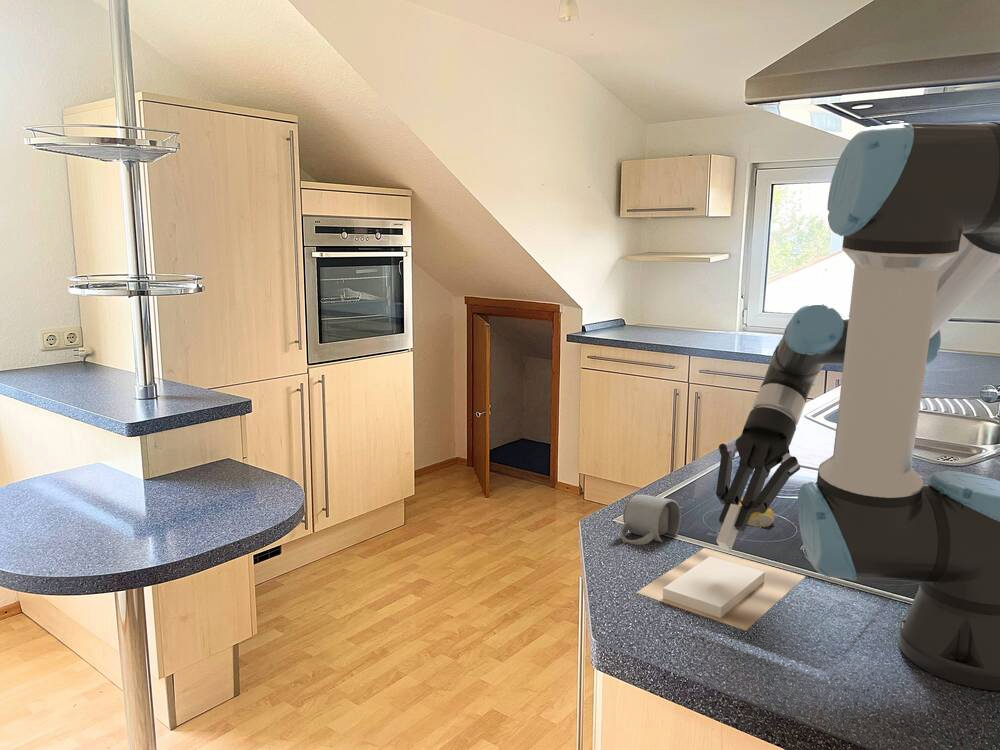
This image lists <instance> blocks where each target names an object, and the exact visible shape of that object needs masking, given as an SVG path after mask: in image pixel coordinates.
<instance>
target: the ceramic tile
mask: <svg viewBox="0 0 1000 750" xmlns="http://www.w3.org/2000/svg"><path fill="white" fill-rule="evenodd" d="M764 579H765V572H764V571H760V570H757V569H753V568H750V567H746V566H743V565H739V564H736V563H732V562H729V561H725V560H722V559H718V558H715V557H711V556H709V557H708V558H707V559H705V560H704V561H702V562H701V563H699V564H698V565H696V566H695V567H693V568H692V569H690V570H689V571H687V572H686V573H684V574H683V575H682V576H680V577H679V578H677V579H676V580H674V581H673V582H671V583H670V584H668V585H667V586H665V587H664V588H663V599H666V600H669V601H672V602H675V603H678V604H681V605H684V606H687V607H690V608H692V609H695V610H698V611H701V612H704V613H707V614H710V615H713V616H716V617H719V618H721V617H722V616H724V615H725V614H726V613H727V612H728V611H730V610H731V609H732V608H733V607H734V606H736V605H737V604H738V603H739V602H740V601H742V600H743V599H744V598H745V597H747V596H748V595H749V594H750V593H751V592H753V591H754V590H755V589H756V588H757V587H759V586H760V585H761V584H762V583H763V582H764Z"/></svg>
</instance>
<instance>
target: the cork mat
mask: <svg viewBox="0 0 1000 750" xmlns="http://www.w3.org/2000/svg"><path fill="white" fill-rule="evenodd" d="M709 556H711V557H715V558H718V559H722V560H725V561H729V562H732V563H736V564H739V565H743V566H746V567H750V568H753V569H757V570H760V571H764V572H765V579H764V582H763V583H762V584H761V585H760V586H759V587H757V588H756V589H755V590H754V591H753V592H751V593H750V594H749V595H748V596H747V597H745V598H744V599H743V600H742V601H740V602H739V603H738V604H737V605H736V606H734V607H733V608H732V609H731V610H730V611H728V612H727V613H726V614H725V615H724V616H722V617H721V618H719V617H716V616H713V615H710V614H707V613H704V612H701V611H698V610H695V609H692V608H690V607H687V606H684V605H681V604H678V603H675V602H672V601H669V600H666V599H663V588H664V587H665V586H667V585H668V584H670V583H671V582H673V581H674V580H676V579H677V578H679V577H680V576H682V575H683V574H684V573H686V572H687V571H689V570H690V569H692V568H693V567H695V566H696V565H698V564H699V563H701V562H702V561H704V560H705V559H707V558H708V557H709ZM804 578H806V575H804V574H803V575H802V574H799V573H796V572H792V571H788V570H785V569H781V568H777V567H776V566H775V567H773V566H770V565H768V564H763V563H759V562H758V561H757V562H756V561H753V560H749V559H745V558H742V557H739V556H735V555H731V554H728V553H725V552H721V551H718V550H712V549H710V548H706V547H703V548H702V549H701V550H699V551H697V552H696V553H694V554H693V555H691V556H690V557H688V558H686V559H685V560H684V561H682V562H680V563H679V564H677V565H676V566H673V568H672V569H670V570H668V571H667V572H665V573H663V574H662V575H661V576H659V577H658V578H656V579H654V580H653V581H651V582H650V583H649V584H646V586H643V587H642V588H641V589H639V590H638V591H636V594H638V595H640V596H644V597H647V598H649V599H652V600H655V601H659V602H661V603H665V604H667V605H670V606H673V607H676V608H680V609H681V610H684V611H687V612H691V613H693V614H697V615H699V616H702V617H705V618H708V619H710V620H714V621H716V622H719V623H723V624H725V625H729V626H732V627H734V628H737V629H740V630H744V631H747V630H749V629H750V628H751V627H752V626H753V625H754V624H755V623H756V622H758V621H759V620H760V619H761V618H762V617H763V616H764V615H765V614H766V613H767V612H769V611H770V609H772V608H773V607H774V606H775V605H776V604H777V603H778V602H779V601H781V600H782V598H784V597H785V596H786V595H787V594H788V593H789V592H790V591H791V590H793V589H794V588H795V586H797V585H798V584H799V583H800V582H801V581H802V580H803V579H804Z"/></svg>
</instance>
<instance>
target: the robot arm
mask: <svg viewBox="0 0 1000 750" xmlns="http://www.w3.org/2000/svg"><path fill="white" fill-rule="evenodd" d="M833 171H834V172H833V175H832V177H831V182H830V185H829V191H828V197H827V198H828V199H827V208H826V209H827V211H828V215H827V222H828V225H829V227H830V230H831V231H832V232H833V233H834V234H836V235H839V236H840V237H843V239H842V248H841V249H842V251H843V252H844V253H845V254H846V255H847V256H848V258H849V259H850V260H851V261H853V264H854V269H853V278H852V279H853V280H852V287H851V295H850V305H849V314H848V316H846V315H845V316H841V314H840V313H839V312H838V311H837V310H836V309H835V308H834V307H831V306H830V307H829V306H828V305H825V304H824V303H815V302H814V303H809V304H806V305H803V306H802V307H800V308H799V309H798V310H797V311H795V313H794V314H793V316H792V317H791V319H790V320H789V322H788V323H787V325H786V327H785V329H784V333H783V336H782V338H781V339H780V340H779V343H778V344H777V345H776V347H775V350H773V353H772V357H771V360H770V362H769V365H768V367H767V370H766V373H765V375H764V378H763V380H762V383H761V385H760V387H759V390H758V392H757V395H756V397H755V399H754V401H753V404H752V406H751V410H750V412H749V413H748V416H747V419H746V421H745V424H744V425H743V429H742V433H741V435H740V436H739V437H738V438H737V439H735V442H734V443H731V444H729V445H726V444H725V443H720V444H719V445H718V449H719V453H720V463H719V470H718V477H717V485H716V489H715V490H716V493H715V495H716V497H717V499H718V500H719V502H720V504H721V505H724V506H723V508H722V511H721V513H720V515H719V517H718V519H719V520H718V522H719V524H720V525H721V528H720V530H719V532H718V534H717V538H716V543H717V545H718V546H719V547H720V549H721V550H723V551H727V552H731V551H732V549H733V546H734V543H735V541H736V538H737V535H738V533H739V531H740V532H745V530H746V529H747V526H748V525H747V523H748V521H749V518H750V516H751V514H752V513H754V512H760V513H765V512H766V511H767V509H768V508H770V506H771V505H772V503H773V502H774V500H775V499H776V498H777V496H778V495H779V493H780V492H781V490H782V489H783V487H784V486H785V485H786V483H787V482H788V480H789V479H790V478H791V477H792V476H793V475H795V474H796V473H797V472H799V470H801V466H800V465H801V464H800V463H799V461H798V458H797V457H796V456H792V455H791V454H790V453H791V452H790V446H791V443H792V442H793V439H794V436H795V433H796V430H797V426H798V424H799V422H800V418H801V417H802V413H803V411H804V408H805V406H806V403H807V399H808V397H809V395H810V392H811V389H812V387H813V384H814V382H815V380H816V378H817V377H818V375H819V373H820V372H821V370H822V369H823V368H824V366H825V365H831V366H832V365H834V366H839V365H840V366H841V365H842V376H841V383H840V384H841V385H840V391H839V393H840V394H839V403H838V409H837V417H836V418H837V419H836V428H835V435H834V436H835V437H834V444H833V454H832V456H830V457H828V458H827V459H825V460H824V461H822V462H821V463H820V464H819V465H818V469H817V477H816V482H813V481H809V482H806V483H803V484H801V485H800V488H799V491H798V494H797V515H798V524H799V525H798V527H799V530H800V535H801V540H802V544H803V547H804V550H805V553H806V555H807V558H808V560H809V562H810V564H811V565H812V567H813V568H814V570H815V571H816V572H817V573H819V574H820V575H822V576H824V577H827V578H835V579H845V580H846V579H847V580H850V581H851V582H854V581H855V582H856V581H857V580H863V581H864V580H867V581H870V580H871V581H892V582H893V581H896V582H897V581H898V582H899V581H901V582H919V586H918V590H917V592H916V595H914V598H913V601H912V603H911V606H910V608H909V611H908V612H907V615H906V616H904V618H903V619H902V621H901V623H900V626H899V633H898V647H899V649H900V651H901V652H902V653H903V655H904V656H905V657H906V658H907V659H908V660H909V661H910V662H911V663H914V664H915V666H918V667H920V668H921V669H923V670H924V671H926V672H928V673H930V674H932V675H934V676H936V677H939V678H941V679H943V680H946V681H949V682H952V683H955V684H958V685H962V686H965V687H969V688H970V687H971V688H976V689H980V690H981V689H982V690H987V691H999V692H1000V480H997V479H993V478H990V477H986V476H982V475H978V474H974V473H968V472H962V471H954V470H939V471H933V472H932V473H931V474H930V476H929V478H928V479H927V485H924V480H923V479H922V477H921V476H920V475H919V474H918V473H917V472H916V470H914V468H913V467H912V463H913V458H914V449H915V443H916V436H917V430H918V429H917V428H918V422H919V416H920V407H921V401H922V394H923V387H924V379H925V373H926V366H927V365H928V364H931V363H932V362H933V361H934V360H935V359H936V358H937V357H938V356H937V355H938V351H939V350H940V349H941V348H940V347H941V343H942V341H941V329H942V328H943V327H944V326H945V324H947V322H949V321H950V319H952V317H954V315H955V314H957V312H958V311H959V310H960V309H962V307H964V306H965V304H966V303H967V302H968V301H969V300H971V298H972V297H973V296H974V295H975V294H976V293H977V292H978V291H979V290H980V289H981V288H983V286H984V285H985V284H986V283H987V282H988V281H989V279H990V278H992V277H993V275H994V274H996V273H997V271H999V269H1000V121H991V122H987V123H986V122H985V123H984V122H979V123H977V122H976V123H975V122H973V123H972V122H968V123H966V122H965V123H958V122H957V123H906V122H901V123H895V124H886V125H877V126H869V127H866V128H864V129H862V130H860V131H859V132H858V133H856V134H855V135H854V136H853V137H852V138H851V139H850V140H849V141H848V142H847V144H846V146H845V147H844V149H843V151H842V153H841V154H840V156H839V159H838V160H837V163H836V166H835V169H834V170H833ZM736 453H738V456H739V460H738V461H739V462H738V463H739V464H738V467H737V470H736V471H735V474H734V477H733V479H732V472H733V463H734V462H733V460H735V457H736ZM779 464H780V465H779ZM778 465H779V466H778ZM776 466H778V467H777V468H776V469H775V472H774V473H773V474H772V475H771V477H770V479H768V477H769V476H770V473H771V470H772V469H774V468H775V467H776ZM750 477H751V478H750ZM767 479H768V482H767V483H766V484H765V482H766V480H767ZM749 480H750V481H749ZM731 481H732V482H731ZM748 482H749V483H748ZM746 486H747V487H746ZM745 489H746V490H745ZM744 492H745V493H744ZM741 498H743V500H742V501H741ZM739 502H741V504H742V507H741V506H739Z"/></svg>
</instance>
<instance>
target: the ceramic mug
mask: <svg viewBox="0 0 1000 750" xmlns="http://www.w3.org/2000/svg"><path fill="white" fill-rule="evenodd" d="M681 514H682V513H681V507H680V505H679V504H678V502H677V501H676V500H675V499H672V498H663V497H659V496H653V495H648V494H635V495H633V496H631V497H630V498H629V499H628V500H627V501H626V504H625V505H624V508H623V513H622V517H623V518H622V519H623V524H624V525H623V526H622V527H621V530H620V537H621V540H622V543H623V544H625V543H627V544H631V545H648V544H649V543H650V542H652V541H657V542H660V543H663V542H664V540H662V539H661V537H660V536H662V535H666V534H669V535H672V536H674V537H675V536H677V535H678V532H679V530H680V525H681V519H682V515H681ZM628 532H630V533H632V534H634V535H637V536H642V537H640V538H636V539H628V538H627V537H626V534H627V533H628Z"/></svg>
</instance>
